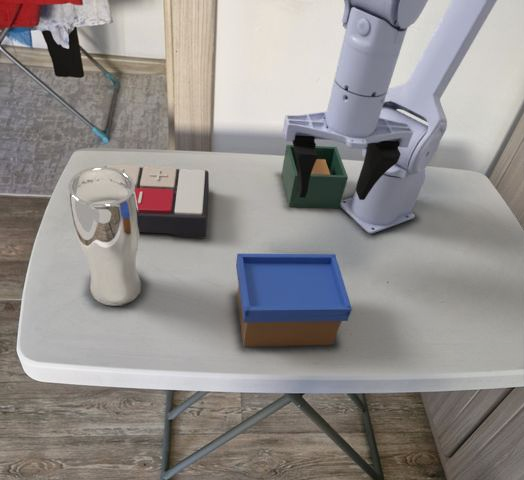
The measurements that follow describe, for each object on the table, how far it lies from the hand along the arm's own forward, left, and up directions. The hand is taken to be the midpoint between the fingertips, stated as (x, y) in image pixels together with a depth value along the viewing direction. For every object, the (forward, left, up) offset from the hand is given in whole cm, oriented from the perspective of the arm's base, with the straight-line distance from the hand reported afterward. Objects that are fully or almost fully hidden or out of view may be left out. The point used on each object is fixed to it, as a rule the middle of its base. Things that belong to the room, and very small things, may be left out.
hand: (330, 194), depth 66 cm
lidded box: (+11, +8, -10) cm, 17 cm away
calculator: (+16, -18, -11) cm, 26 cm away
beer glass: (+27, -6, -11) cm, 29 cm away
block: (-8, -13, -10) cm, 18 cm away
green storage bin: (-8, -13, -10) cm, 18 cm away
